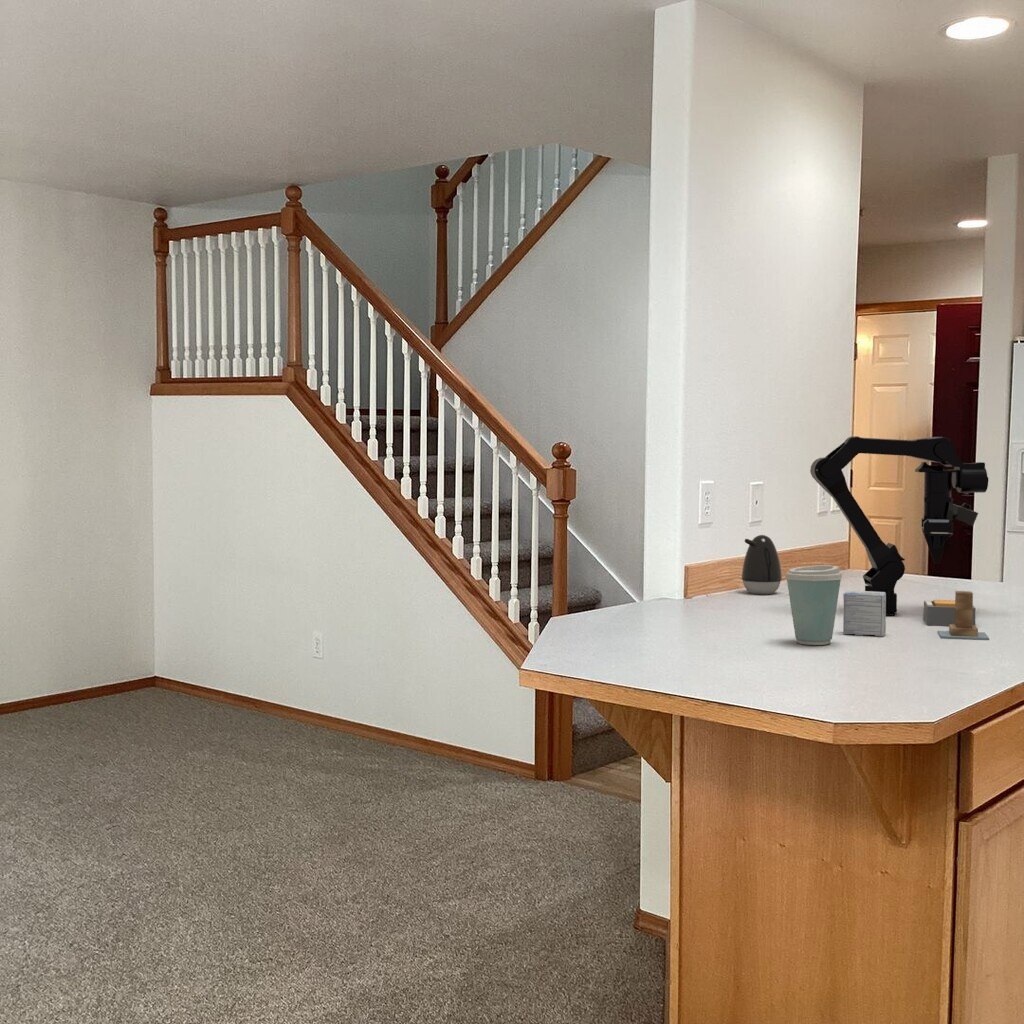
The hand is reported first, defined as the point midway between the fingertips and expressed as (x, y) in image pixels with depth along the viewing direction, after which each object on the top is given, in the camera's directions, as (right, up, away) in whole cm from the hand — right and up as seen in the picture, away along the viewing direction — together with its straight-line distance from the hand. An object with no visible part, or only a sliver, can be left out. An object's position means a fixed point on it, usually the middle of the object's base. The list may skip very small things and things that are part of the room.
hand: (936, 561), depth 264 cm
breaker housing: (-1, -13, -11) cm, 17 cm away
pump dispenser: (-31, -10, +39) cm, 51 cm away
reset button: (-1, -12, -12) cm, 16 cm away
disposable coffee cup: (-37, -15, -36) cm, 54 cm away
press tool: (-5, -13, -29) cm, 32 cm away
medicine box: (-24, -14, -26) cm, 38 cm away
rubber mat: (-5, -14, -29) cm, 32 cm away
